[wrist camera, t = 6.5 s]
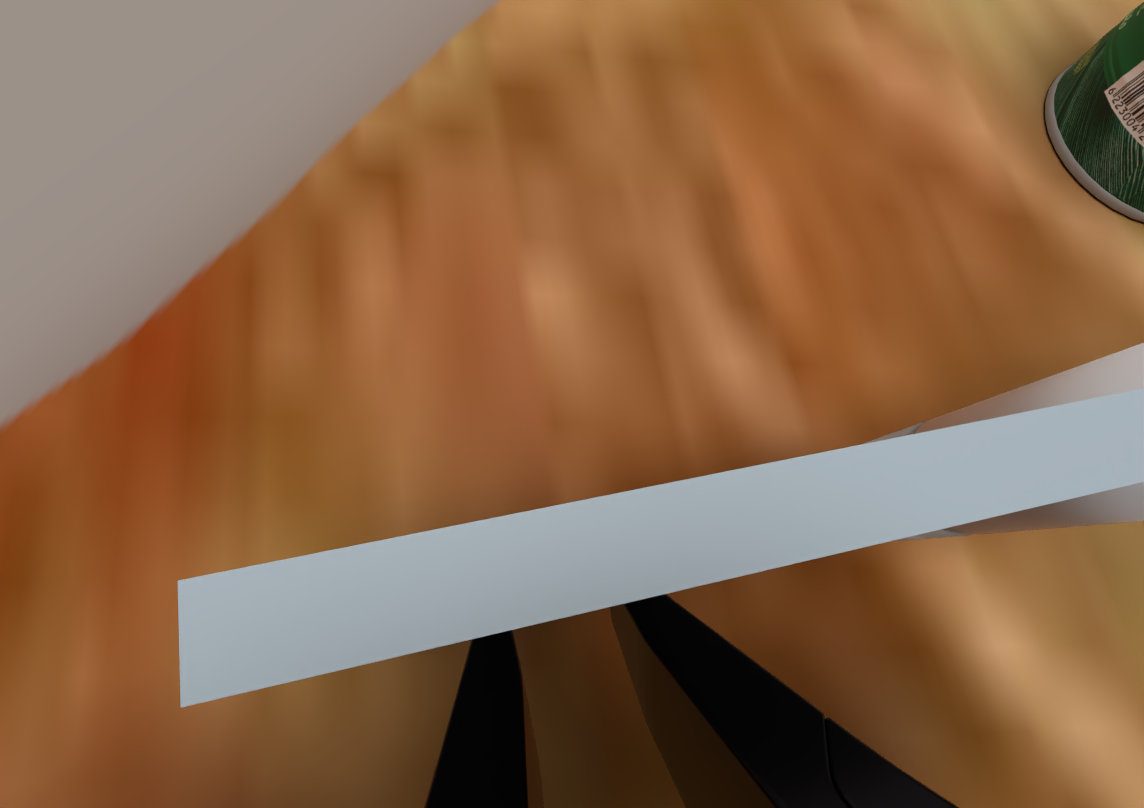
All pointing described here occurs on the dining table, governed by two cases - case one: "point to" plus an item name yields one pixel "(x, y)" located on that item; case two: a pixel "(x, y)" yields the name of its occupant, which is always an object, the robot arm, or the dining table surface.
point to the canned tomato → (1104, 117)
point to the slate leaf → (676, 535)
